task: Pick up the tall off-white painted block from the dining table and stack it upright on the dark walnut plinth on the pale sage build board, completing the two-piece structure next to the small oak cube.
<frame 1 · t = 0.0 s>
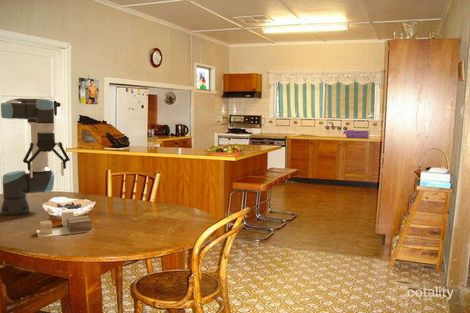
hand: (47, 176, 205), 28 cm above the table, fingers open, 13 cm apart
oak cube: (46, 232, 207), point 1 cm above the table, touching build board
white block: (67, 226, 221), on the table
build board: (64, 232, 210), on the table
plinth: (79, 228, 214), point 1 cm above the table, touching build board
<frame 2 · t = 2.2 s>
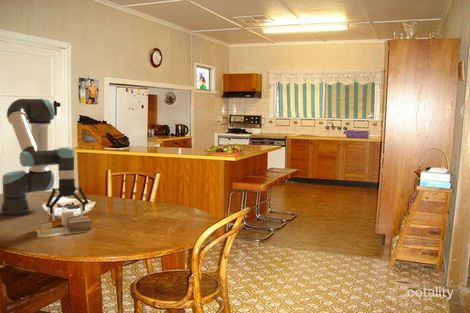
hand: (67, 219, 220), 4 cm above the table, fingers open, 13 cm apart
nothing on the table moved.
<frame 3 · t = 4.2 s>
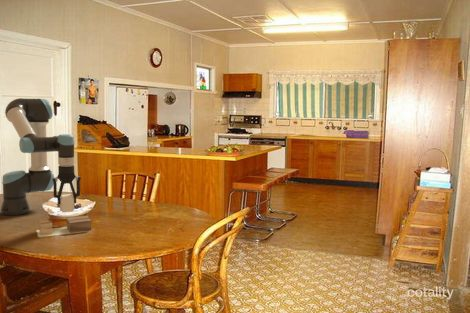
hand: (67, 209, 220), 8 cm above the table, fingers closed on white block, 5 cm apart
white block: (67, 210, 220), point 8 cm above the table, touching gripper
everything else where it was.
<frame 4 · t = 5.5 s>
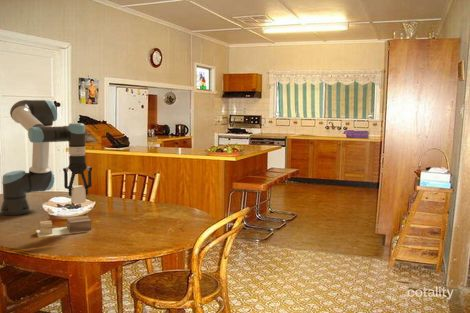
hand: (78, 201, 212), 15 cm above the table, fingers closed on white block, 5 cm apart
white block: (78, 202, 212), point 14 cm above the table, touching gripper
everything else where it was.
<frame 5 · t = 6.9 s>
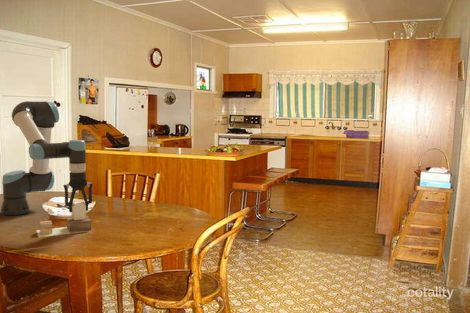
hand: (78, 217, 213), 7 cm above the table, fingers closed on white block, 5 cm apart
white block: (78, 218, 213), point 6 cm above the table, touching gripper
everything else where it was.
when the fingers open (6 cm above the table, at t = 7.2 s): white block stays where it is, resting on plinth.
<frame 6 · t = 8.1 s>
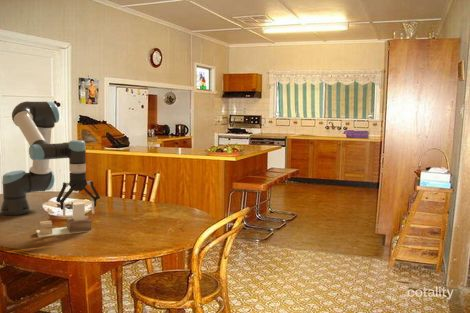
hand: (78, 214, 213), 8 cm above the table, fingers open, 13 cm apart
white block: (78, 219, 213), point 6 cm above the table, touching plinth
plinth: (79, 228, 214), point 1 cm above the table, touching build board, white block
everything else where it was.
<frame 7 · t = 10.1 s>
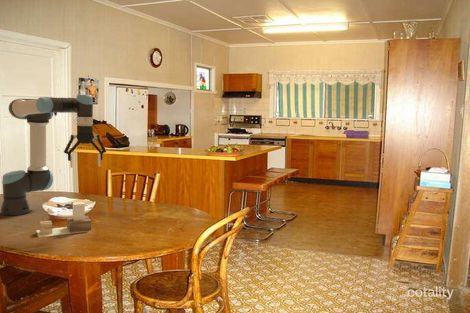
hand: (85, 166, 220), 31 cm above the table, fingers open, 13 cm apart
nothing on the table moved.
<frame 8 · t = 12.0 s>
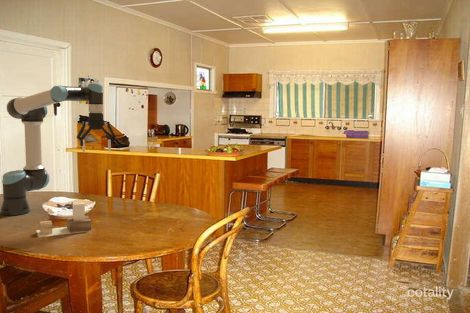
hand: (96, 151, 234), 37 cm above the table, fingers open, 13 cm apart
nothing on the table moved.
at the end: white block inside the target area on the plinth (0.1 cm from its centre), point 5.0 cm above the plinth's base; white block tilted 0°; the gripper is holding nothing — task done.
